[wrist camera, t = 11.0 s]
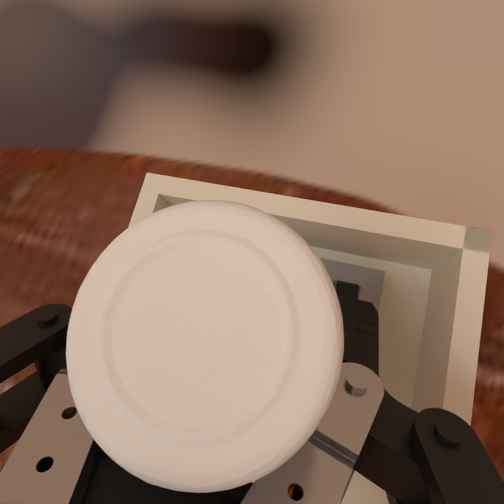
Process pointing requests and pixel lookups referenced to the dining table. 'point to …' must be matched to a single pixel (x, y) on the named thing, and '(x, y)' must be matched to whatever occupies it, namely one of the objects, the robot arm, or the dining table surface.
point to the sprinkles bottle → (204, 346)
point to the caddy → (383, 289)
